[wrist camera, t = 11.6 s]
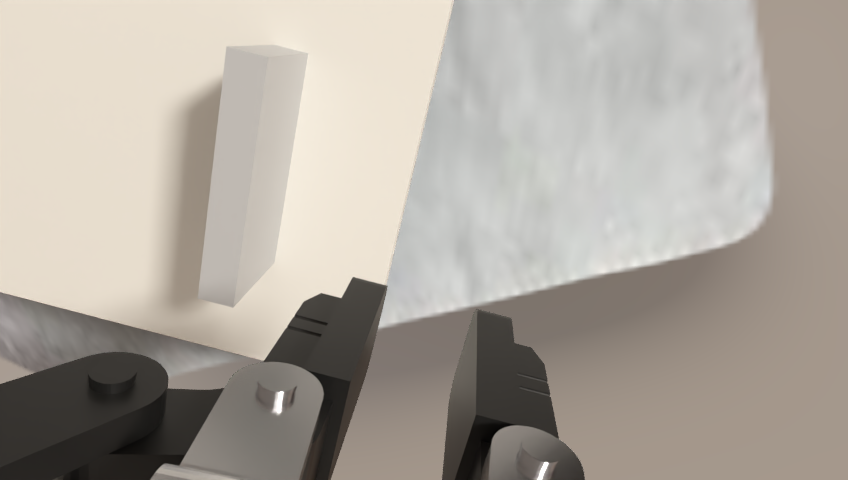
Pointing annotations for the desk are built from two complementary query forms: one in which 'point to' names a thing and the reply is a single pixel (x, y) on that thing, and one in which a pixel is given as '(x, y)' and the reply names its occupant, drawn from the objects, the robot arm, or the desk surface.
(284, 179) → the lid
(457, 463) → the robot arm
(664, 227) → the desk surface
